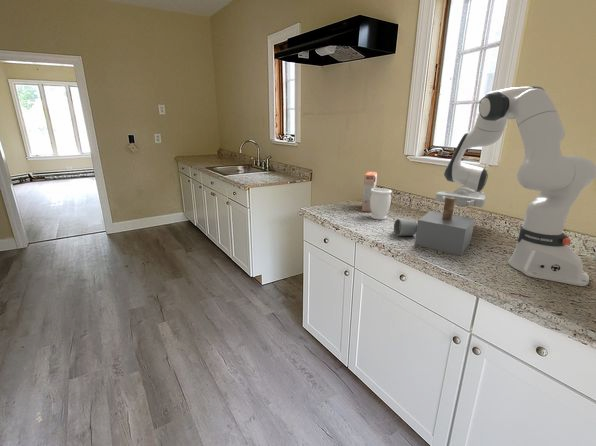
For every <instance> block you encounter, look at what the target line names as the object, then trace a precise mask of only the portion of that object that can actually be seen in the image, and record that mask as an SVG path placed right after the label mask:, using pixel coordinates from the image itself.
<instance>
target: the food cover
mask: <svg viewBox="0 0 596 446" xmlns="http://www.w3.org/2000/svg"><path fill="white" fill-rule="evenodd" d="M454 209H455V198H453V197H446V199H445V202H444V205H443V211H442V212H440V211H433V210H430V211H429V212H427V213H426V214H424V215H423V216H421V217H420V218H419V219H417V223H416V224H417V231H416V234H415V240H414V245H415V246H419V247H423V248H427V249H431V250H437V251H440V252H444V253H449V254H452V255H455V256H456V255H457V256H460V257H461V256H462V255H463V254H464V253H465V251H466V249H467V248H468V246H469V245H470V244H471V242H472V236H473V232H474V228H475V227H474V226H475V221H476V218H475V217H469V216H462V215H458V214H454Z"/></svg>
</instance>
